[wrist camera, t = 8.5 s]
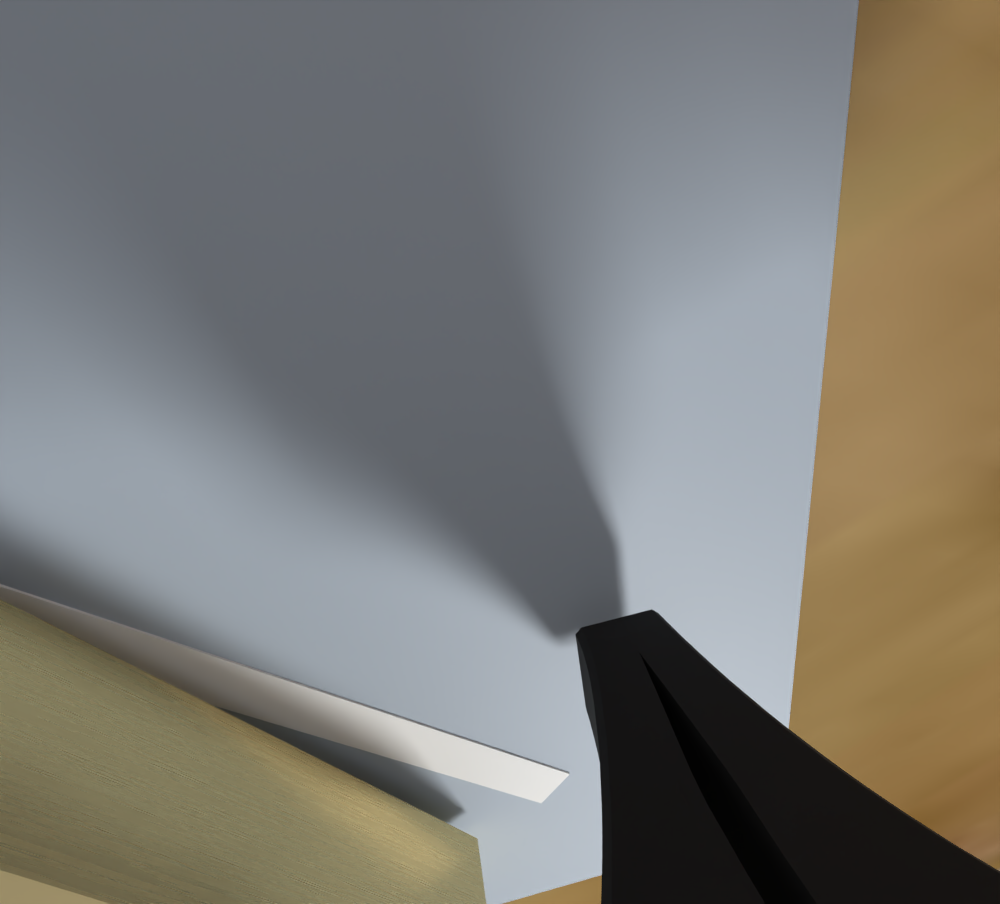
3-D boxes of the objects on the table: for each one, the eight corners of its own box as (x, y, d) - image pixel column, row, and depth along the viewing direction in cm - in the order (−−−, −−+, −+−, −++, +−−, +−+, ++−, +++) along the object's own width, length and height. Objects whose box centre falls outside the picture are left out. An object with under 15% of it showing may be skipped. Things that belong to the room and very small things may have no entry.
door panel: (-2, 1024, 14) (-16, 1055, 13) (-1096, 189, 5) (-1236, 192, 5) (767, 804, 15) (780, 825, 15) (841, -123, 7) (875, -142, 6)
